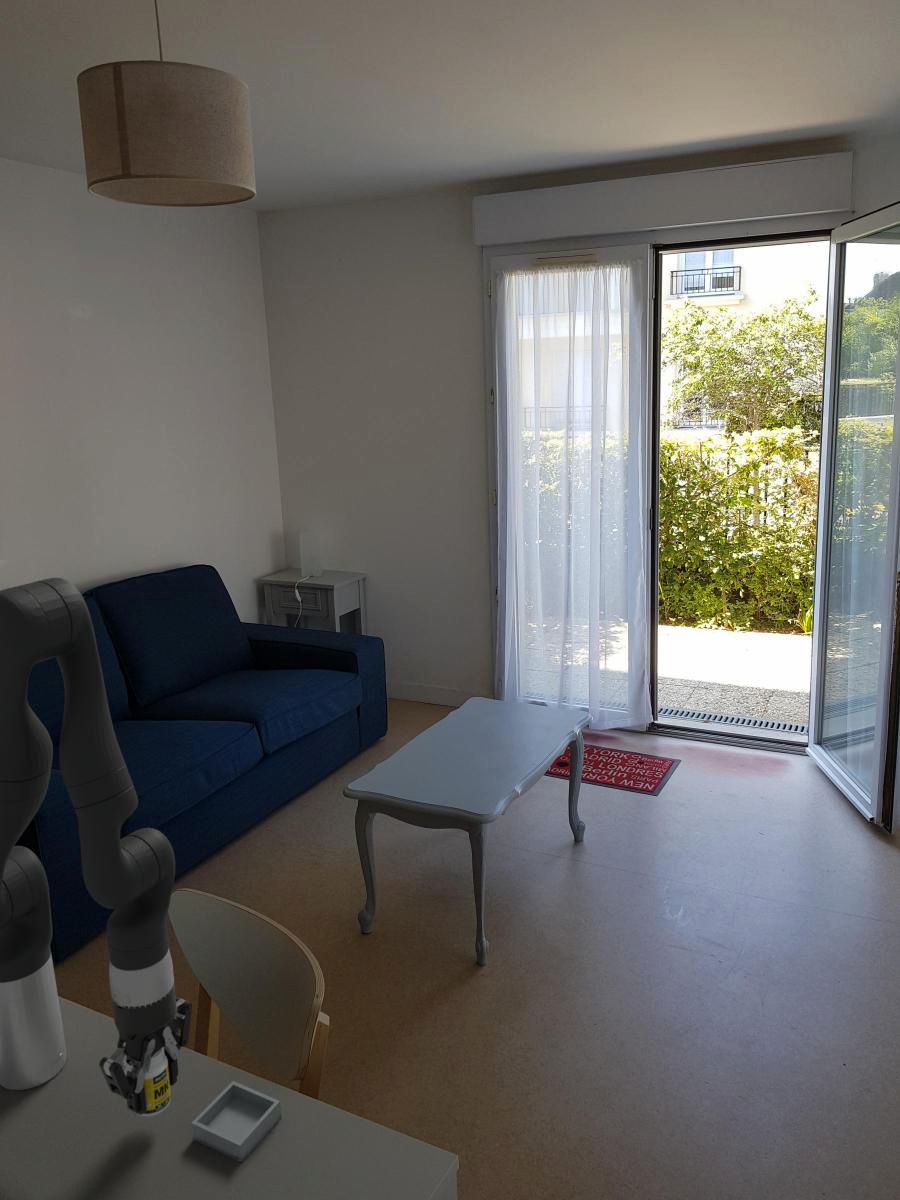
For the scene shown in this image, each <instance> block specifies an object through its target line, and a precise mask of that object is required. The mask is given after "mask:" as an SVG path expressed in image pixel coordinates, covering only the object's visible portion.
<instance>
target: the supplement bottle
mask: <svg viewBox="0 0 900 1200" xmlns="http://www.w3.org/2000/svg"><path fill="white" fill-rule="evenodd" d="M134 1061H135V1062H137V1063H141V1062H138V1061H136V1060H134ZM132 1078H133V1079H135V1074H134V1073H133V1077H132ZM143 1088H145V1098H146V1107H147V1110H146V1111H145V1112H144V1113H143V1114H142V1115H140V1114H138V1113H136V1114H137V1115H138V1116H141V1117H154V1116H157V1115H158V1114H160V1113H162V1112H164V1111H165V1110H166V1109H167V1107H169V1105H170V1103H171V1097H172V1096H171V1085H170V1081H169V1069H168V1060H167V1057H166V1055H165V1054H164V1047H162V1048H161V1049H160V1050H159V1051H158V1052H156V1053H155V1054H154V1055H153V1056H152V1057H151V1061H150V1067H149V1071H148V1072H147V1073H145V1078H144V1084H143Z"/></svg>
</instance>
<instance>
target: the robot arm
mask: <svg viewBox="0 0 900 1200" xmlns="http://www.w3.org/2000/svg"><path fill="white" fill-rule="evenodd" d="M94 629H95V628H94V626H93V622H92V618H91V614H90V610H89V607H88V606H87V603H86V600H85V598H84V597H83V595H82V593H81V592H80V590H79V589H78V588H77V587H76V586H75V585H74V584H73V583H72V582H70V581H69V580H67V579H64V578H61V577H50V578H45V579H41V580H40V579H39V580H36V581H33V582H29V583H25V584H20V585H18V586H17V585H16V586H13V587H7V588H4V589H1V590H0V1086H1V1087H3V1088H5V1089H7V1090H12V1091H21V1090H22V1091H23V1090H29V1089H32V1088H36V1087H38V1086H41V1085H43V1084H45V1083H47V1082H48V1081H49V1080H52V1078H54V1077H55V1076H56V1075H58V1073H60V1072H61V1070H62V1069H63V1068H64V1067H65V1064H66V1062H67V1058H68V1057H67V1055H68V1054H67V1048H66V1042H65V1041H66V1040H65V1035H64V1028H63V1020H62V1014H61V1007H60V1001H59V996H58V987H57V981H56V974H55V970H54V962H53V958H52V957H53V956H52V951H51V943H52V939H53V931H54V930H53V919H52V912H51V911H52V909H51V900H50V899H51V897H50V888H49V883H48V876H47V874H46V870H45V867H44V865H43V864H42V862H41V860H40V859H39V857H38V856H37V855H36V853H34V851H32V850H31V849H30V848H28V847H25V846H22V845H16V844H17V842H18V841H19V839H20V837H21V836H22V835H23V834H24V832H25V831H26V829H27V828H28V826H29V825H30V823H31V822H32V820H33V818H34V817H35V815H36V814H37V812H38V811H39V809H40V807H41V805H42V804H43V802H44V799H45V797H46V794H47V792H48V789H49V784H50V780H51V773H52V772H51V771H52V765H53V756H54V748H53V747H54V746H53V741H52V738H51V736H50V734H49V731H48V729H47V728H46V726H45V725H44V724H43V723H42V721H41V720H40V719H39V717H37V716H38V715H36V713H35V712H34V710H32V708H31V707H30V705H29V702H28V686H29V685H28V684H29V680H30V679H29V678H30V675H31V674H30V673H31V671H32V668H33V667H34V666H35V665H36V664H39V663H41V662H45V661H47V660H50V659H51V660H52V659H53V658H55V659H56V661H57V665H58V666H59V668H60V672H61V675H62V679H63V680H62V681H63V685H64V708H63V715H62V716H63V717H62V718H63V719H62V723H61V730H60V737H59V746H58V760H59V767H60V769H59V770H60V774H61V776H62V779H63V782H64V785H65V787H66V790H67V793H68V796H69V798H70V801H71V804H72V806H73V808H74V812H75V814H76V816H77V822H78V834H79V844H80V858H81V870H82V878H83V881H84V884H85V887H86V890H87V892H88V893H89V895H90V896H91V898H92V899H93V900H94V901H95V902H96V903H98V904H99V905H100V906H102V907H103V908H106V909H109V910H114V911H113V912H112V913H111V914H110V916H109V917H108V919H107V922H106V939H107V940H106V941H107V948H108V957H109V972H108V973H109V974H108V975H109V976H108V977H109V978H108V979H109V985H110V996H111V1002H112V1003H111V1004H112V1005H111V1006H112V1012H113V1013H112V1014H113V1023H114V1025H115V1027H116V1029H117V1031H118V1035H119V1036H118V1040H117V1048H116V1050H115V1051H114V1052H113V1054H111V1056H110V1057H106V1056H104V1057H102V1058H101V1059H100V1061H99V1064H98V1065H99V1066H98V1067H99V1068H100V1071H101V1073H102V1075H103V1077H104V1079H105V1081H106V1084H107V1087H108V1088H109V1090H110V1092H111V1093H113V1094H116V1095H118V1096H120V1097H121V1098H122V1099H125V1100H126V1106H127V1109H128V1110H130V1111H131V1112H133V1113H135V1114H137V1113H138V1114H140V1115H142V1114H143V1113H144V1112H145V1111H146V1110H147V1107H146V1098H145V1088H143V1084H144V1078H145V1073H147V1072H148V1071H149V1067H150V1061H151V1057H152V1056H153V1055H154V1054H155V1053H156V1052H158V1051H159V1050H160V1049H161V1048H162V1047H164V1054H165V1055H166V1057H167V1060H168V1069H169V1081H170V1087H171V1086H174V1085H175V1084H176V1083H177V1082H178V1075H179V1066H178V1065H179V1064H178V1058H179V1055H180V1049H181V1048H185V1047H187V1045H188V1043H189V1039H190V1030H191V1029H190V1027H191V1020H192V1013H193V1012H192V1011H193V1003H192V1002H190V1001H188V1000H185V999H183V998H180V997H178V996H176V989H175V988H176V986H175V976H174V967H173V966H174V965H173V959H172V954H171V952H170V948H169V947H170V945H169V935H168V926H167V925H168V924H167V917H168V913H169V909H170V906H171V905H170V904H171V899H172V898H171V897H172V892H173V888H174V881H175V876H176V858H175V853H174V848H173V846H172V844H171V842H170V840H169V839H168V837H167V836H166V835H165V834H164V833H163V832H161V831H160V830H158V829H155V828H152V827H144V828H140V829H137V830H135V831H133V832H131V833H130V834H127V835H126V836H124V837H123V838H121V830H122V829H121V828H122V826H123V824H124V822H126V820H127V819H128V818H129V817H130V816H131V815H132V814H133V813H134V812H135V811H136V809H137V808H138V806H139V799H138V794H137V791H136V789H135V786H134V783H133V781H132V777H131V775H130V772H129V770H128V767H127V765H126V761H125V759H124V756H123V754H122V751H121V749H120V745H119V742H118V740H117V739H118V738H117V736H116V733H115V729H114V725H113V721H112V716H111V712H110V708H109V706H110V705H109V701H108V697H107V692H106V691H107V690H106V686H105V680H104V674H103V669H102V663H101V659H100V655H99V651H98V649H99V648H98V644H97V638H96V634H95V630H94ZM179 1029H180V1033H179ZM134 1060H136V1061H138V1062H141V1063H137V1062H135V1061H134ZM133 1073H134V1074H135V1079H133V1078H132V1077H133ZM138 1114H137V1115H138ZM140 1115H139V1116H140Z"/></svg>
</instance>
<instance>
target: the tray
mask: <svg viewBox="0 0 900 1200" xmlns="http://www.w3.org/2000/svg"><path fill="white" fill-rule="evenodd" d="M281 1119H282V1108H281V1101H280V1100H278V1099H277V1098H274V1097H271V1096H269V1095H267V1094H265V1093H262V1092H261V1091H257V1090H255V1089H253V1088H250V1087H248V1086H246V1085H243V1084H241V1083H239V1082H236V1081H234V1080H233V1081H231V1083H229V1085H227V1086H226V1087H225V1088H224V1089H223V1090H222V1092H220V1093H219V1094H218V1095H217V1096H216V1097H215V1098H214V1099H213V1100H212V1101H211V1102H210V1103H209V1104H208V1106H207V1107H205V1108H204V1109H203V1111H202V1112H200V1113H199V1114H198V1115H197V1116H196V1117H195V1119H194V1120H193V1121H191V1123H190V1124H191V1131H192V1133H191V1134H192V1140H193V1141H195V1142H198V1143H199V1144H202V1145H204V1146H205V1147H208V1148H210V1149H212V1150H214V1151H216V1152H218V1153H220V1154H223V1155H225V1156H227V1157H228V1158H231V1159H233V1160H235V1161H237V1162H239V1163H243V1162H244V1161H245V1160H246V1158H248V1156H250V1154H251V1153H252V1152H253V1151H254V1149H256V1147H257V1146H258V1145H259V1144H260V1143H261V1141H262V1140H263V1139H264V1138H265V1137H266V1136H267V1135H268V1134H269V1132H271V1130H272V1129H273V1128H274V1127H275V1125H277V1123H278V1122H279V1121H280V1120H281Z"/></svg>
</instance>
